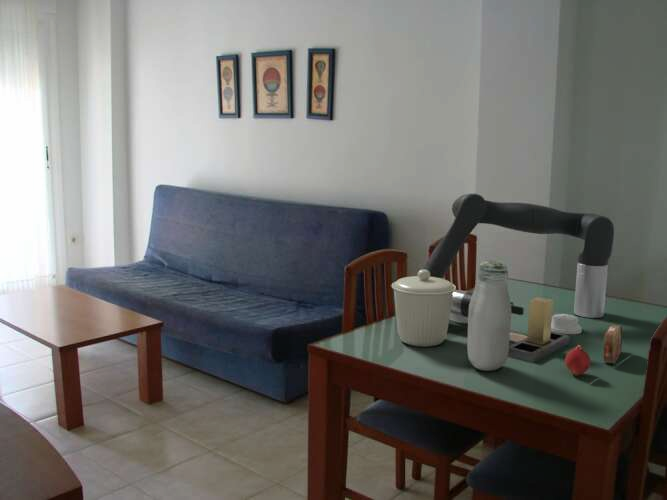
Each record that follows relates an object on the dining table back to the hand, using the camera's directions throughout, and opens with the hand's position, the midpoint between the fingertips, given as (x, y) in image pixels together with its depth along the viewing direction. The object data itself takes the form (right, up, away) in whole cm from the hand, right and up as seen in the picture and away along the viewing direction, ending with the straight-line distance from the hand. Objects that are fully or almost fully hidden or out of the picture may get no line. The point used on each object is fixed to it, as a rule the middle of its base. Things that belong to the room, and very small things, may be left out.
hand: (515, 314), depth 181 cm
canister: (-26, -8, +4) cm, 28 cm away
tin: (+23, -11, -10) cm, 27 cm away
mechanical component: (+19, -7, +15) cm, 25 cm away
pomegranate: (+9, -13, -22) cm, 27 cm away
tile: (+2, -8, +6) cm, 10 cm away
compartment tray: (+5, -10, -3) cm, 11 cm away
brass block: (+5, -9, -3) cm, 11 cm away
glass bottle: (-12, -12, -18) cm, 25 cm away
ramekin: (-10, -4, +26) cm, 28 cm away
